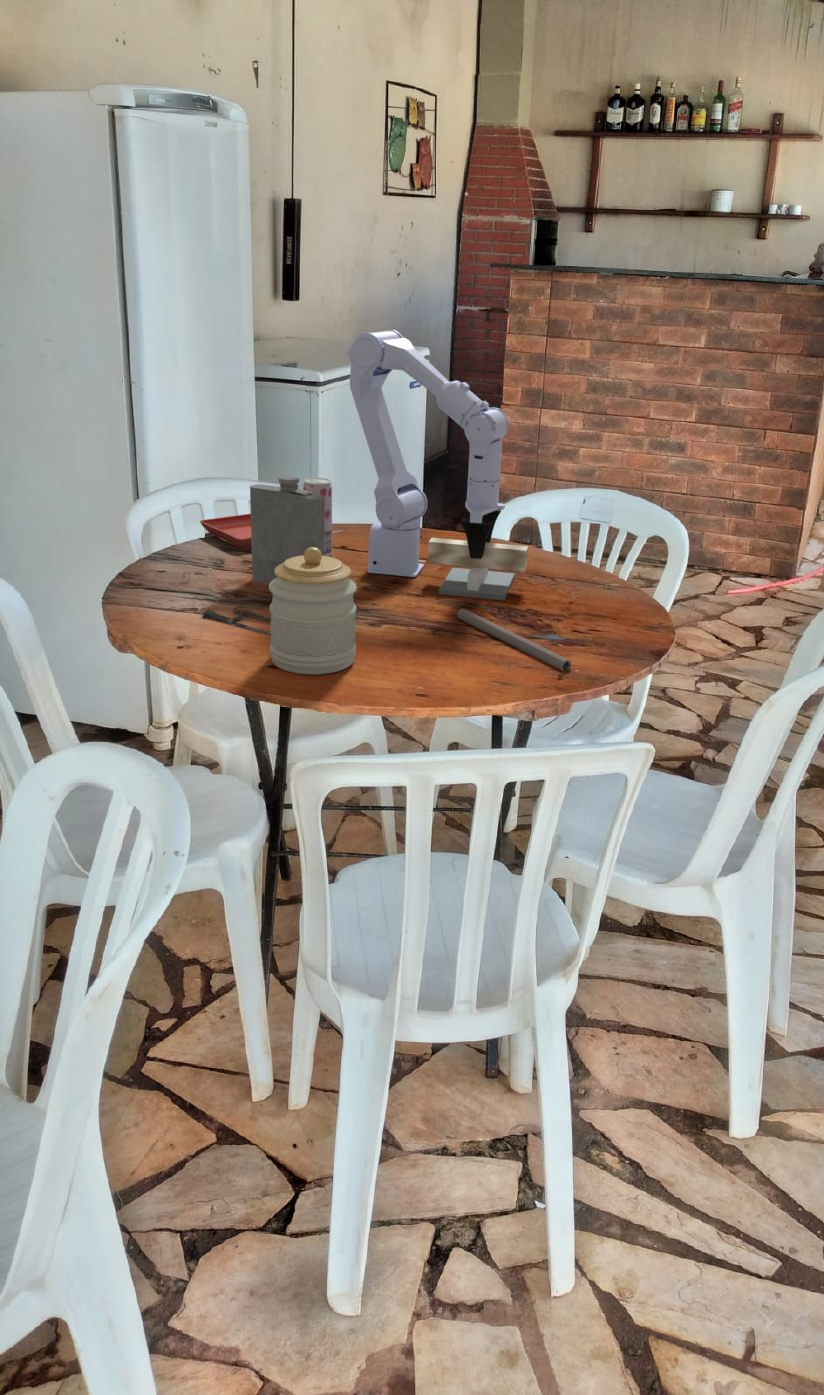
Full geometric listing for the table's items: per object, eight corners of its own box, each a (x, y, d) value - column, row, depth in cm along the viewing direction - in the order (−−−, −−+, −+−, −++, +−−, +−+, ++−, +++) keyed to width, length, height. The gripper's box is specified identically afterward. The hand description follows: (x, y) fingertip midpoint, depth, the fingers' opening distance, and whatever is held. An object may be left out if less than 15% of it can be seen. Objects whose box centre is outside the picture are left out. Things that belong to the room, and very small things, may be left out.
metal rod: (466, 618, 187) (466, 607, 186) (570, 671, 166) (571, 658, 166) (457, 620, 186) (457, 609, 185) (561, 673, 165) (562, 661, 165)
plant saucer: (198, 534, 231) (197, 519, 230) (272, 524, 241) (272, 509, 240) (239, 555, 218) (239, 539, 217) (316, 543, 228) (316, 527, 227)
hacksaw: (197, 619, 183) (197, 611, 182) (238, 598, 190) (238, 590, 190) (312, 655, 171) (312, 647, 171) (351, 632, 179) (351, 624, 178)
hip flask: (248, 580, 202) (245, 472, 194) (263, 575, 205) (260, 468, 197) (317, 597, 194) (316, 485, 186) (330, 592, 197) (331, 481, 189)
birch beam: (427, 562, 202) (428, 541, 200) (430, 558, 205) (431, 537, 203) (524, 571, 199) (526, 550, 197) (526, 567, 201) (528, 546, 200)
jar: (280, 642, 172) (278, 533, 165) (361, 648, 171) (363, 538, 164) (261, 673, 161) (258, 557, 154) (348, 679, 159) (349, 562, 152)
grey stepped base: (438, 594, 198) (439, 572, 196) (452, 572, 210) (453, 552, 209) (504, 600, 196) (505, 579, 194) (514, 578, 208) (515, 558, 207)
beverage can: (303, 551, 221) (302, 477, 215) (331, 551, 221) (331, 477, 215) (303, 559, 215) (303, 483, 209) (332, 559, 216) (332, 483, 210)
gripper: (500, 489, 188) (495, 565, 193) (511, 472, 201) (506, 544, 206) (460, 485, 189) (456, 561, 195) (473, 469, 202) (469, 541, 208)
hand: (479, 552), depth 201 cm, fingers open, 7 cm apart
